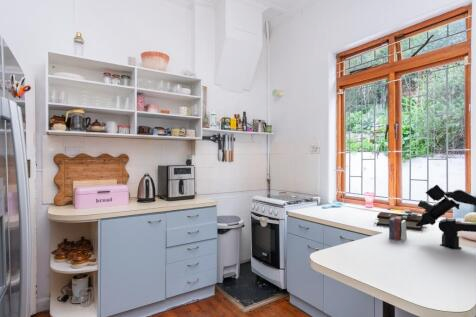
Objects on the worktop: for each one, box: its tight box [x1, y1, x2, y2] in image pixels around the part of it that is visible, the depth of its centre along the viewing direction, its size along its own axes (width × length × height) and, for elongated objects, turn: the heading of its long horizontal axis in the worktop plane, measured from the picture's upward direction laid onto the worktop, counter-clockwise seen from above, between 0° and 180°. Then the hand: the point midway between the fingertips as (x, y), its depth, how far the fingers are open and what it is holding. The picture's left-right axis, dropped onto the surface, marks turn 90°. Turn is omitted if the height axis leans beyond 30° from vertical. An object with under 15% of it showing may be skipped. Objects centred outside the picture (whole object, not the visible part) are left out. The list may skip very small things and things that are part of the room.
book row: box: [388, 216, 402, 241], centre depth 156 cm, size 5×8×12 cm, turn 142°
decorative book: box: [375, 211, 423, 231], centre depth 187 cm, size 19×8×30 cm
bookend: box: [401, 220, 408, 242], centre depth 153 cm, size 1×8×10 cm, turn 142°
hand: (416, 225), depth 149 cm, fingers closed
